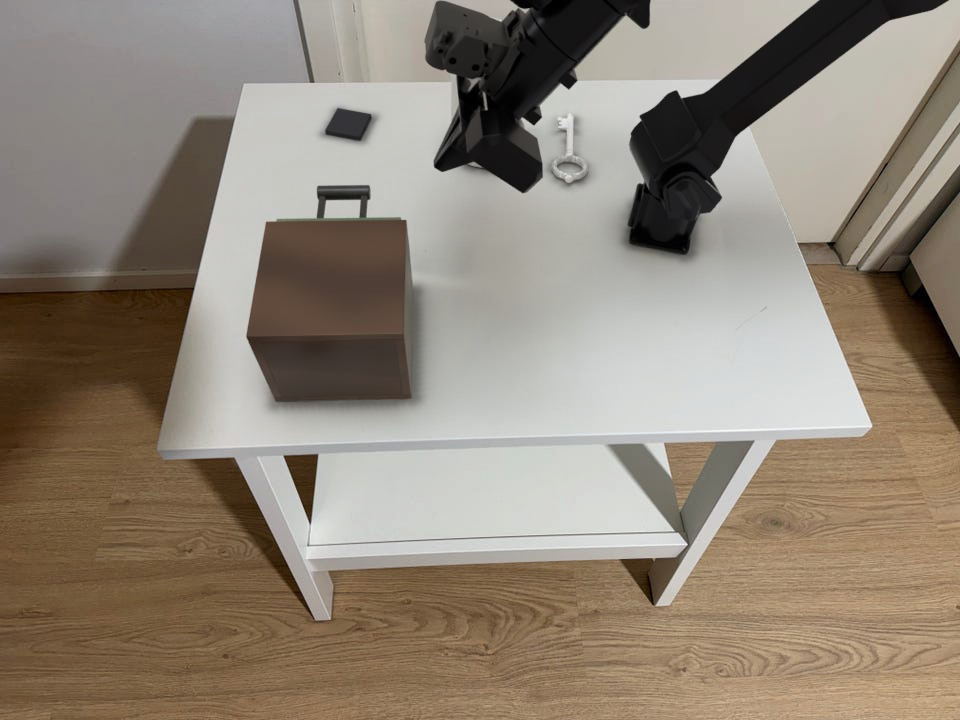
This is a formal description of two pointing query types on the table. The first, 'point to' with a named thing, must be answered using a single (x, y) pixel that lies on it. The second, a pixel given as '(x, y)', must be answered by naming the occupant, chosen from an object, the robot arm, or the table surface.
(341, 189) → the drawer
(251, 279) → the table surface
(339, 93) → the table surface
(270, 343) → the cabinet
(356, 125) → the pad
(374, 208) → the table surface
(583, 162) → the key
